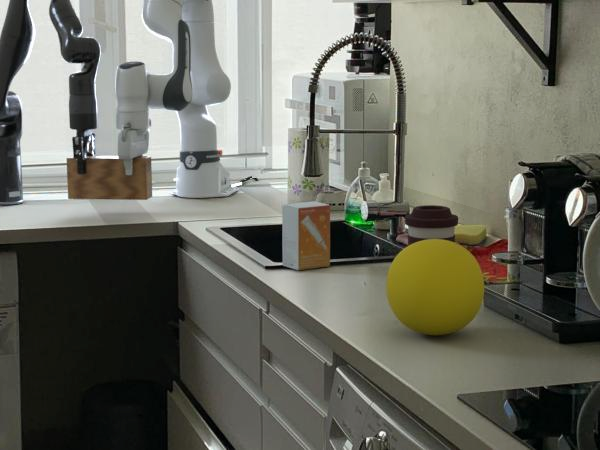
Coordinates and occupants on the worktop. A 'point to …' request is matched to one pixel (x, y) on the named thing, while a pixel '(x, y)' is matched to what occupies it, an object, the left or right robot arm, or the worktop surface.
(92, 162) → the box
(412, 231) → the coffee cup
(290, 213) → the small box
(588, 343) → the worktop surface
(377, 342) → the worktop surface
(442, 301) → the toy
